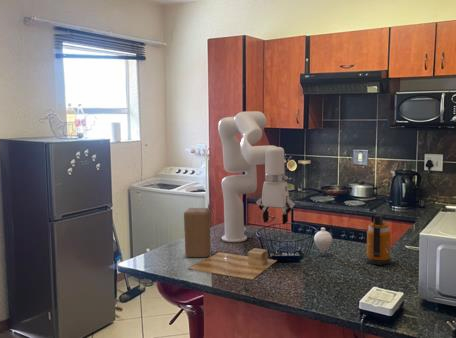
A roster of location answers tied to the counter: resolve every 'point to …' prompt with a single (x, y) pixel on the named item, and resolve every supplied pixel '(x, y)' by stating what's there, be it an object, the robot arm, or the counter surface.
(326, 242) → the spinning top
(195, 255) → the block
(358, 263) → the counter surface
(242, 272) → the wooden board
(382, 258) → the amber tall bottle
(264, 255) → the oak cube
